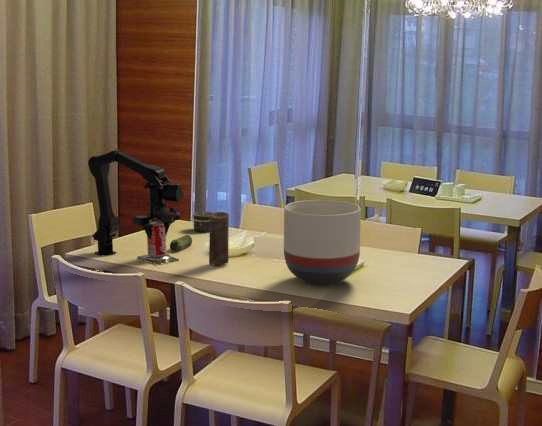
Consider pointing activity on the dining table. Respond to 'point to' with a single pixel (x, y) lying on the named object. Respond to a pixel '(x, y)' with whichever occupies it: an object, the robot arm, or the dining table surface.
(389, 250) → the dining table surface
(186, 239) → the vegetable
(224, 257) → the candle
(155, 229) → the soda can
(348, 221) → the planter
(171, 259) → the pawl stand
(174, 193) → the robot arm
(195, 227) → the jar
